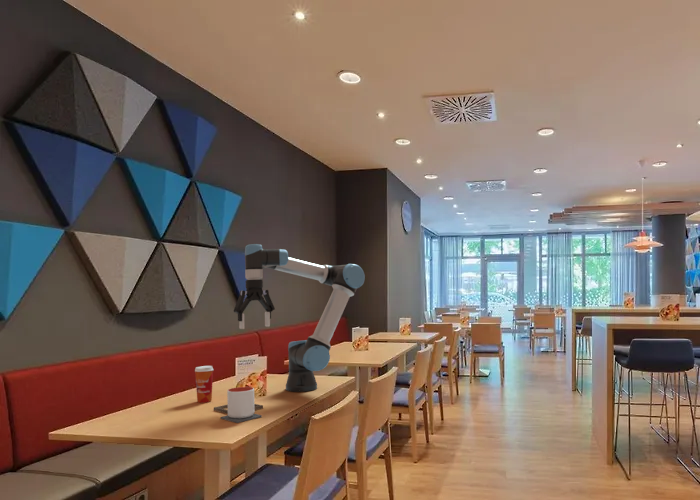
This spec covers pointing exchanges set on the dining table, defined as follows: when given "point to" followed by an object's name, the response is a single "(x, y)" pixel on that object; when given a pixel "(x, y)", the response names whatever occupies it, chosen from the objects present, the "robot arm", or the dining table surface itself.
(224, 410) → the frame
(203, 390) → the coffee cup
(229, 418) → the coaster
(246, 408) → the cup
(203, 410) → the dining table surface
